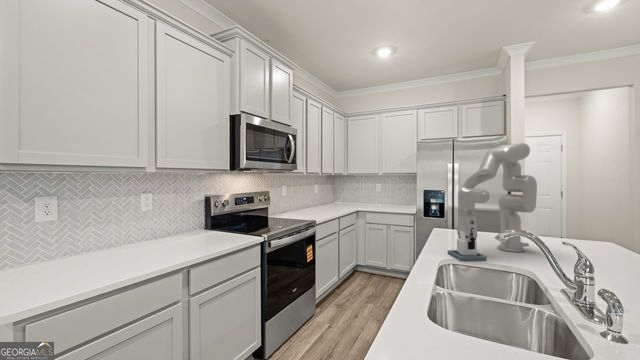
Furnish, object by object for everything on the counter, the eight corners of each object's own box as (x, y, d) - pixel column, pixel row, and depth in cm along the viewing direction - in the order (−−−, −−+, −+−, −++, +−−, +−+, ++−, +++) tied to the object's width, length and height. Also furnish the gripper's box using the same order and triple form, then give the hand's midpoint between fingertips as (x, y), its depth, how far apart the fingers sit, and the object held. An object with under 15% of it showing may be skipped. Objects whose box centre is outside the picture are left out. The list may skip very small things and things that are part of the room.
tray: (470, 253, 148) (470, 249, 148) (486, 260, 135) (486, 256, 135) (447, 253, 148) (447, 250, 148) (461, 261, 135) (461, 257, 135)
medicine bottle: (470, 251, 145) (470, 229, 145) (477, 255, 138) (477, 232, 138) (456, 251, 146) (456, 229, 145) (462, 255, 138) (462, 231, 138)
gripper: (484, 215, 133) (484, 251, 133) (463, 211, 150) (463, 243, 151) (469, 215, 133) (469, 251, 133) (450, 211, 150) (450, 243, 150)
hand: (466, 246), depth 142 cm, fingers closed on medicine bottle, 7 cm apart
